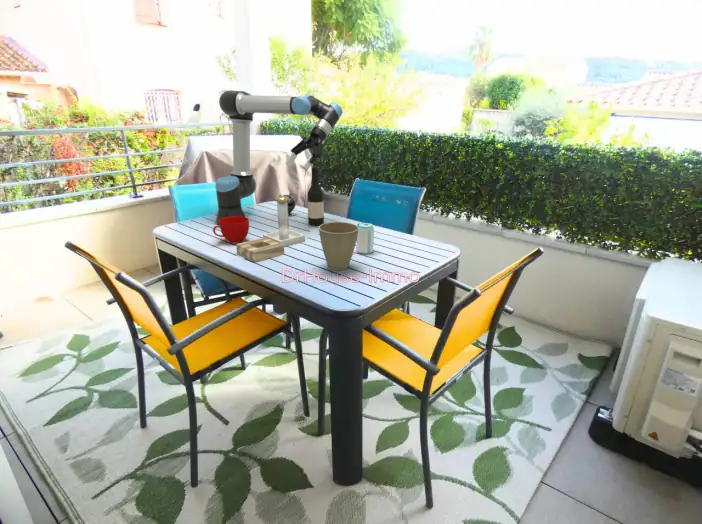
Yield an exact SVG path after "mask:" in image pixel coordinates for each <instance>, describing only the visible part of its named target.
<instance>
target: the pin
mask: <svg viewBox="0 0 702 524" xmlns="http://www.w3.org/2000/svg"><path fill="white" fill-rule="evenodd" d="M274 201H275V202H276V207H277V221H278V223H277V225H278V231H279V240H286V239H289V230H290V228H289V216H288V204H287V201H289V197H287V196H283V195H281V196H279V195H278V196H275V197H274Z"/></svg>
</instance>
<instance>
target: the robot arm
mask: <svg viewBox="0 0 702 524" xmlns="http://www.w3.org/2000/svg"><path fill="white" fill-rule="evenodd" d="M219 96H220V97H219V100H218V104H219V108H220V109H221V111H222V112H223V113H224V114H226V115H227V116H228V117H229V118H228V119H229V120H230V121H231V122H232V151H233V152H232V155H233V157H232V158H233V160H232V161H233V169H232V170H231V171H230V175H226V176H221V177H219V178H217V179H216V180H215V191H216V199H217V208H218V209H217V213H216V217H215V222H216V224H217V225H218V224H219V220H220V219H222V218H225V217H231V216H242V217H246V215H245V212H244V210H243V207H242V199H245V198H249V197H250V196H251V195H253V194H254V193H255V191H256V190H257V181H256V179H255V177H254V173H253V171H251V141H250V140H251V123H252V122H253V121H254V120H253V119H254V116H253V115H254V114H257V113H258V114H274V115H275V114H277V115H278V114H279V115H299V116H305V115H307V116H308V115H310V116H311V115H312V116H314V117H316V118H318V120H317V122H316V124H314V125H313V127H312V129H311V130H310V132H309V137H308V138H307V137H306V136H303V137H304V138H303V139H302V140H300V141H299V142H297V144H296V145H295V146H294V147H292V149H290V152H291V154H290V156H289V158H288V159H287V160H286V161H285V165H286V166H287V167H288V168H290V167H291V166H292V165H293V163H294V162H295V160H296V159H297V157H298V155H299V154H301V153H302V152H304V151H305V150H309V149H312V153H311V155H310V156H309V157H308V158H307V160H306V161H305V163H304V164H303V168H304V169H305V170H306V171H309V169H310V168H311V166H313V164H314V162H315V161H316V160H317V159H321V158H322V156H323V155H322V154H323V150H324V146H325V145H326V141H325V140H326V139H327V137H328V135H330V133H331V132H332V130H333V128H335V125H336V124H337V122H339V121H340V118H341V116H342V115H343V109H342V107H341V106H340V105H339V104H338V103H336V102H330V103H329V104H327V103H325V102H323V101H321V100H319V99H318V98H317V97H315V96H314V95H312V94H309V93H305V94H304V95H303V96H302V95H301V96H290V95H289V96H288V95H287V96H286V95H285V96H282V95H252V94H251V93H249V92H247V91H244V90H226V91H224V92H222V93H221V95H219Z"/></svg>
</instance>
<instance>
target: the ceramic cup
mask: <svg viewBox="0 0 702 524" xmlns="http://www.w3.org/2000/svg"><path fill="white" fill-rule="evenodd" d="M217 228H219V230H220V232H221V234H218V233H217V232H216V229H217ZM249 230H250V219H249V218H248V217H246V216H245V217H242V216H231V217H225V218H222V219H220V220H219V225H216V226H213V228H212V232H213V234H214V235H215V236H216V237H220V238H224V239H225V240H226V241H227V242H228V243H230V244H239V243H244V242H245V239H246V237H247V236H248V233H249V232H250V231H249Z"/></svg>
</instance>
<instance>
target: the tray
mask: <svg viewBox="0 0 702 524" xmlns="http://www.w3.org/2000/svg"><path fill="white" fill-rule="evenodd" d="M264 237H265V238H268V239H270V240H273V241H275V242H278V243H280V244H283V245H284V248H286V247H289V246H293V244H294V245H297V243H298V244H301V243H305V242H306V235H305V234H304V233H300V232H297V231H295V230H291V229H289V239H286V240H279V230H277V231H276V230H275V231H272V232H269V233H268V232H267V233H264V234H262V238H264Z"/></svg>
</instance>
